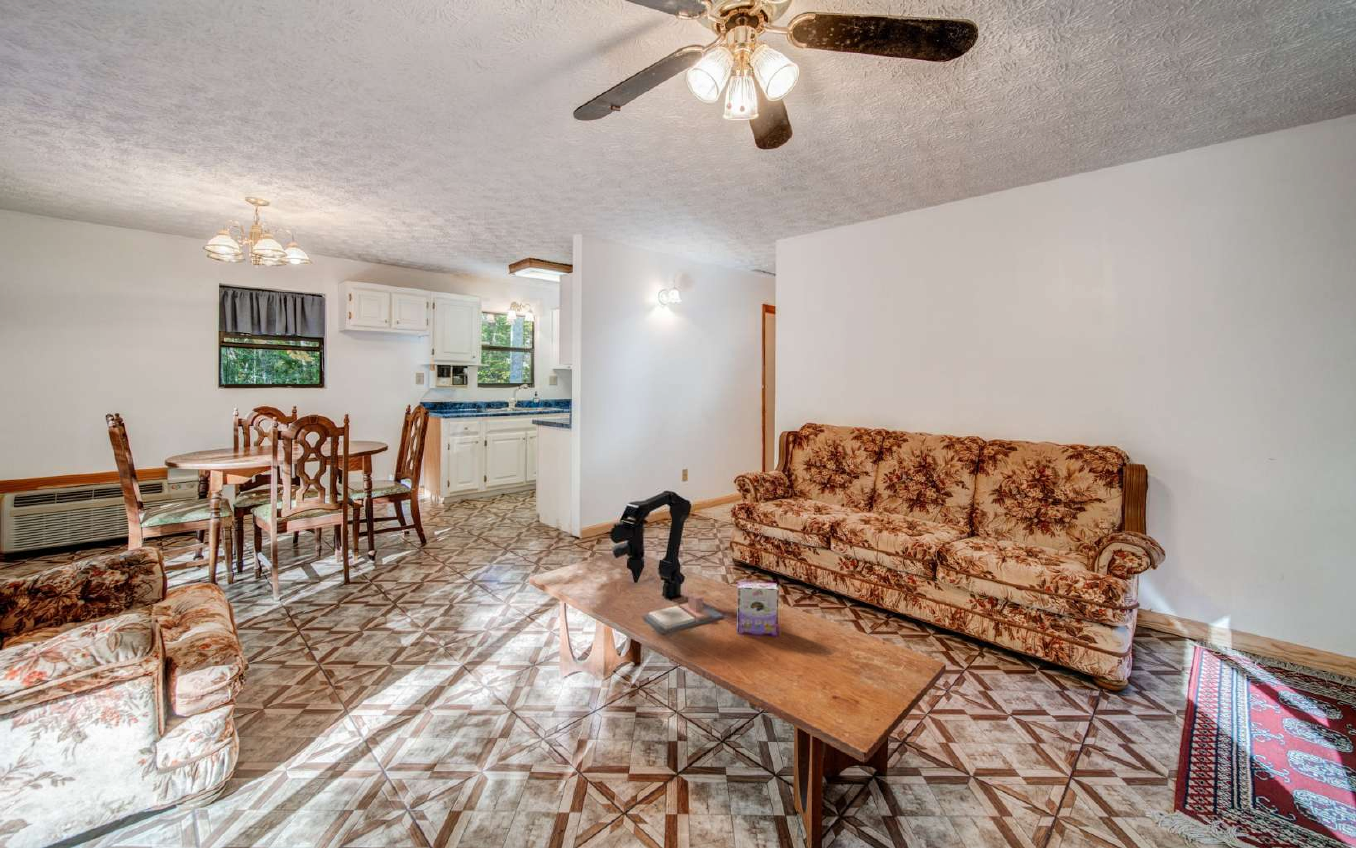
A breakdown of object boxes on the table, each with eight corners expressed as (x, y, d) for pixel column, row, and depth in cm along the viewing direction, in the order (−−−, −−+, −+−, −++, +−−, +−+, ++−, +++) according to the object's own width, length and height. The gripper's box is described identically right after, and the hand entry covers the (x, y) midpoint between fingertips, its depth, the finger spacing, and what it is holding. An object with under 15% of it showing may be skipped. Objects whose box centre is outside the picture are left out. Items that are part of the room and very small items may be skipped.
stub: (692, 604, 200) (692, 589, 199) (710, 616, 189) (710, 600, 189) (679, 608, 197) (679, 591, 196) (697, 620, 186) (697, 603, 186)
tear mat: (701, 604, 203) (701, 601, 203) (723, 617, 191) (723, 615, 191) (642, 618, 189) (642, 616, 189) (662, 634, 178) (662, 631, 177)
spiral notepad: (678, 608, 196) (678, 605, 196) (696, 621, 186) (696, 617, 186) (648, 615, 189) (648, 612, 189) (665, 629, 179) (665, 625, 179)
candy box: (776, 628, 184) (777, 582, 183) (777, 636, 178) (779, 589, 177) (736, 625, 185) (737, 580, 184) (736, 633, 179) (738, 587, 178)
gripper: (615, 529, 201) (615, 569, 203) (612, 545, 183) (612, 588, 184) (644, 529, 202) (644, 568, 203) (644, 545, 183) (644, 588, 185)
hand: (635, 578), depth 194 cm, fingers open, 9 cm apart
